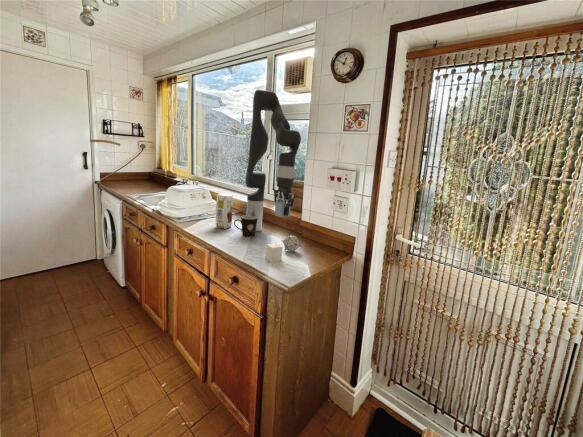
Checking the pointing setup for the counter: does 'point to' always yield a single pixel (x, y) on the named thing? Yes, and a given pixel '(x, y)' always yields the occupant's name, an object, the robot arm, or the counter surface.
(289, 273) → the counter surface
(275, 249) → the cream block
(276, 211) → the slate block
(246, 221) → the coffee mug
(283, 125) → the robot arm
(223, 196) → the juice carton
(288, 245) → the game die
